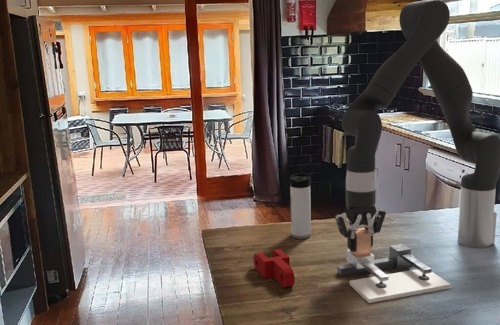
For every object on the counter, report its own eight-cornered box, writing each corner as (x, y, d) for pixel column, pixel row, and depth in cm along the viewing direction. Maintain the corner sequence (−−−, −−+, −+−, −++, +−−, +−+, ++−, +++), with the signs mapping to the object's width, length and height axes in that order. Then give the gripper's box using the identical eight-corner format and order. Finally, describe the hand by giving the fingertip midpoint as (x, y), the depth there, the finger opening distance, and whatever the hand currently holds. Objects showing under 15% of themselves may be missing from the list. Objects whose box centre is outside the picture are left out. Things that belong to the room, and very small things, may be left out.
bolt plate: (425, 271, 130) (425, 267, 129) (450, 288, 120) (450, 283, 120) (349, 284, 124) (349, 280, 124) (369, 303, 115) (369, 298, 114)
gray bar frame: (408, 259, 137) (408, 242, 136) (441, 281, 123) (442, 263, 122) (335, 271, 132) (335, 253, 131) (361, 296, 118) (362, 276, 117)
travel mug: (312, 232, 160) (312, 173, 156) (308, 239, 154) (307, 178, 150) (294, 231, 162) (293, 172, 158) (289, 238, 156) (287, 177, 152)
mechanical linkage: (254, 267, 136) (253, 251, 135) (277, 263, 139) (277, 246, 138) (277, 292, 122) (277, 274, 121) (303, 287, 124) (303, 268, 123)
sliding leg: (363, 260, 134) (363, 226, 132) (393, 284, 120) (394, 247, 118) (346, 262, 133) (346, 228, 131) (375, 288, 119) (376, 250, 116)
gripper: (378, 180, 131) (377, 240, 135) (329, 186, 128) (329, 248, 132) (393, 187, 124) (391, 250, 128) (341, 193, 121) (341, 258, 125)
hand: (360, 249), depth 130 cm, fingers closed on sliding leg, 4 cm apart
